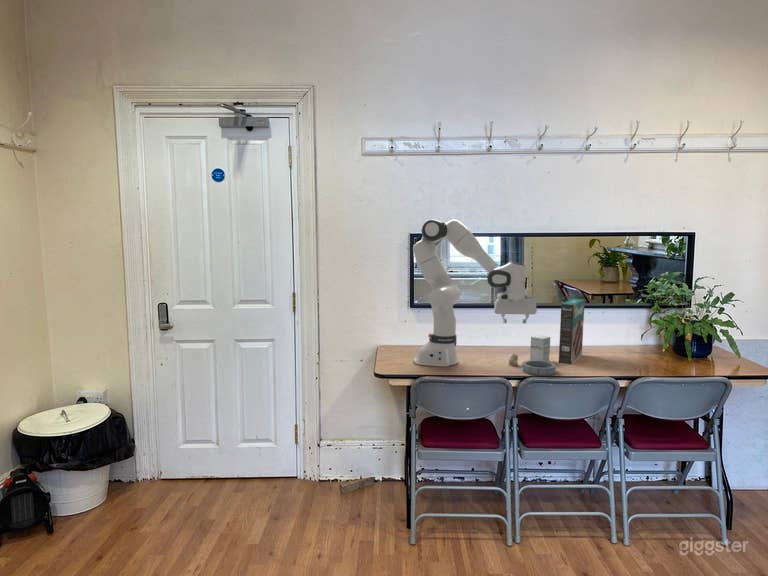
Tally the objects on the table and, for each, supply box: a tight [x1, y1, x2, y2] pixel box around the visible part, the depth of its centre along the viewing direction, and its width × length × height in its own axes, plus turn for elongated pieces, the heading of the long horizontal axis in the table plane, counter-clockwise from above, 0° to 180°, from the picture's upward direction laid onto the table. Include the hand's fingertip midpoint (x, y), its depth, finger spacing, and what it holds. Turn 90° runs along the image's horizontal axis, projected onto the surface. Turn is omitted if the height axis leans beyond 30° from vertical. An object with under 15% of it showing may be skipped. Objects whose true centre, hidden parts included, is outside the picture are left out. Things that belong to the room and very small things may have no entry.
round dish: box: [521, 359, 557, 377], centre depth 253 cm, size 15×15×4 cm
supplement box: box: [529, 334, 551, 362], centre depth 272 cm, size 7×7×13 cm
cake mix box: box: [558, 298, 586, 365], centre depth 275 cm, size 22×6×30 cm, turn 146°
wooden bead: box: [508, 353, 519, 367], centre depth 264 cm, size 4×4×5 cm
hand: (514, 323), depth 262 cm, fingers open, 8 cm apart
